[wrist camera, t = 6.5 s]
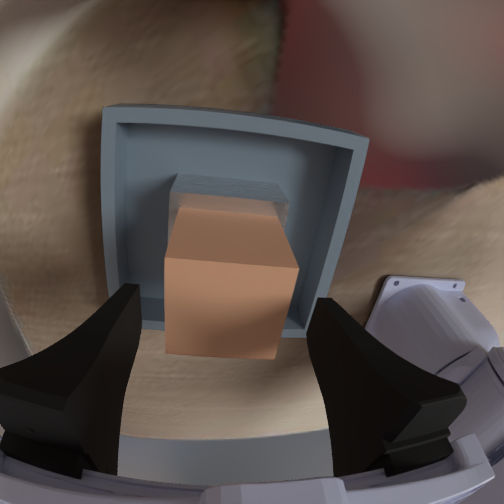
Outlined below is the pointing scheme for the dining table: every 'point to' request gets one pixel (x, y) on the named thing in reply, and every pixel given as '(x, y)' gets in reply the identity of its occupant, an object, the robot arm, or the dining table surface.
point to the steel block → (226, 197)
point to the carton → (227, 284)
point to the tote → (229, 166)
